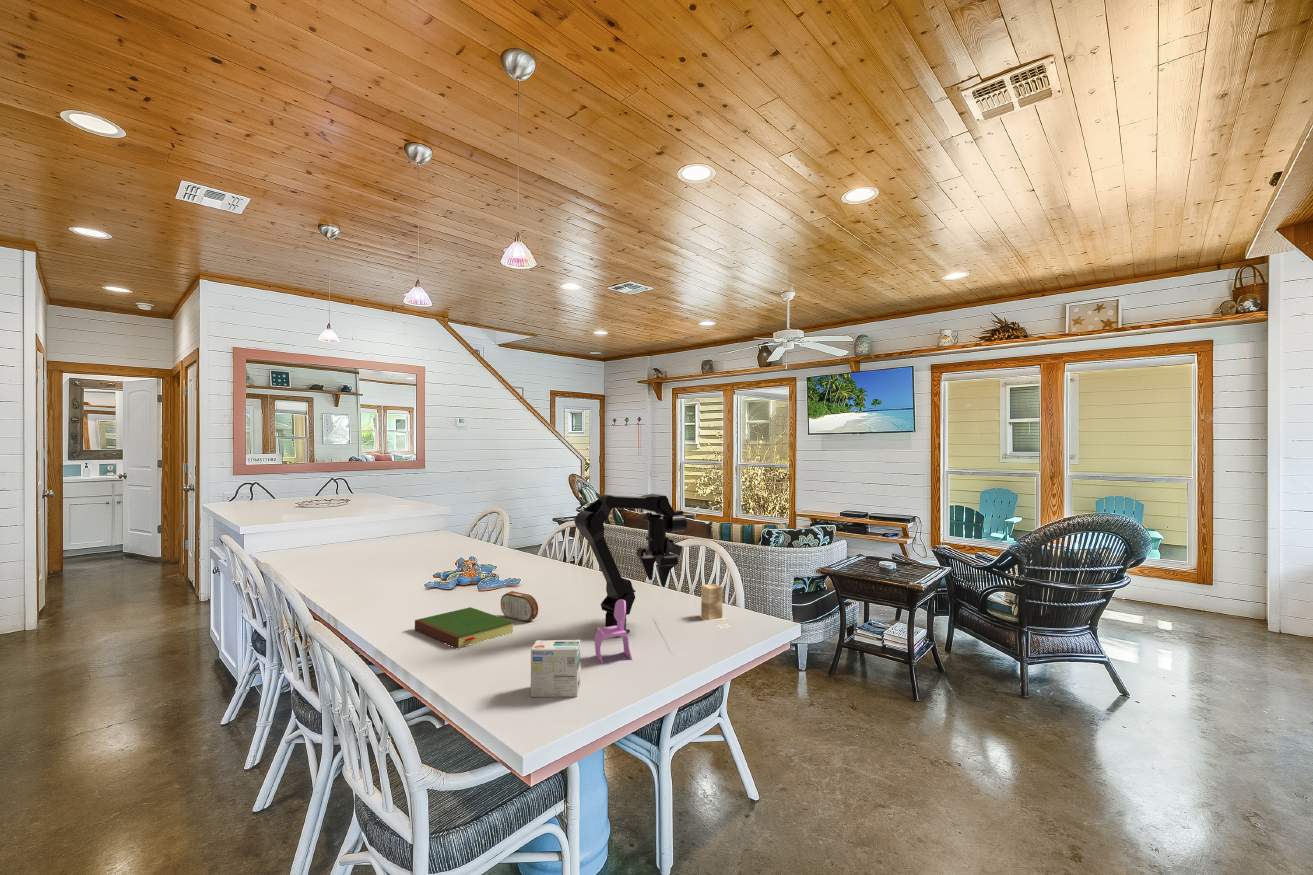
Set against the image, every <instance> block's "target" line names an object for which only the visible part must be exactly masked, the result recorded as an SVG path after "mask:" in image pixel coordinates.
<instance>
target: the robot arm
mask: <svg viewBox="0 0 1313 875" xmlns="http://www.w3.org/2000/svg"><path fill="white" fill-rule="evenodd" d="M614 509H634V510H636V509H639V510H643V511H647V512H646V513H645V515H643V516H642V519H641V520H643V521H647V536H646V535H645V540H646V541H647V546H640V547H638V548H637V549H636V557H638V560H639V561H640V564H641V565H642V568H643V570H644V573H645V575H646V577H647V579H648V580H649V581H652V580H653V578H654V576H653V575H654V567H655V568H656V572H657V575H658V579H659V583H660V586H661V587H665V586H666V584H667V580H668V577H669V575H670V572H671V570H672V569H673V568H675V567H676V566H677V565H679V563H680V562H679V561H680V560H679V557H681V554H682V550H683V548H684V546H682V545H679V544H676V543H675V542H674V540H673V539H671V538H669V537H668V536H667V533H678V532H684V531H686V530H687V527H688V521H687V518H686V516H685V514H684V511H683V510H680V509H679V510H674V509H673V507H672V505H671V504H670V501H669V498H668V496H667V495H665V494H659V493H658V494H657V493H648V494H644V495H641V496H632V495H631V496H629V495H628V496H627V495H612V494H602V495H600V496H599V497H598V498H597V499H596V500H595V501H593V502H592V503H590V504H589V505H588V506H586V507H585V508H584V510H582V511H579V512H578V513H577V514H576V515H575V519H574V525H575V527H576V528H577V530H578V532H579V533H580V534H581V536H583V537H584V538H585V539H586V541H587V542H588V543H589V545H590V549H591V550H592V552H593V554H594V556H595V560H596V562H597V563H598V566H599V568H600V570H601V572H602V575H603V577H604V579H605V582H606V586H605V590H606V596H605V597H604V599H603V600H602V602H601V603H600V607H601V610H602V611H605V626H604V627H611V626H617V620H616V619H615V617H614V610H615V603H616V602H617V601H618V600H620V599H622V600H625V601H626V615H625V622H624V630H625V631H626V632H627V634H628V633H630V632H631V630H630V629H629V628H628V629H627V616H628V615H630V614H631V610H632V607H633V604H634V603H635V600H636V595H635V594H636V592H637V591H636V590H635V588H634V586H633V583H632V581H631V579H627V578H624V577H622V576H621V574H620V573H621V572H620V571H619V569H618V566H617V563H616V562H615V559H614V556H613V554H612V551H611V550H610V548H609V545H608V543H607V541H606V538H605V526H604V525H605V524H604V523H605V521H607V519H608V518H609V516H610V513H611V512H612V510H614ZM652 512H653V513H654V514H653V513H652ZM678 556H679V557H678ZM620 637H621V636H616V638H620Z"/></svg>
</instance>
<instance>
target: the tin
mask: <svg viewBox="0 0 1313 875" xmlns="http://www.w3.org/2000/svg"><path fill="white" fill-rule="evenodd" d="M500 610H501V612H502V614H503V615H504V616H505V617H506V618H509V619H511V620H517V621H520V622H524V623H526V622H530V621H533V620H535V619H536V618H537V617H538V614H539V604H538V602H537V600H536V598H535V597H534V596H532V595H531V594H527V593H523V592H518V591H515V590H510V591H508V592H506V593H504V594H503V595H502V596H501V598H500Z"/></svg>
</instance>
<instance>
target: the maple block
mask: <svg viewBox="0 0 1313 875" xmlns="http://www.w3.org/2000/svg"><path fill="white" fill-rule="evenodd" d="M700 589H701V590H700V592H701V594H700V596H701V597H700V598H701V599H700V600H701V602H700V606H701V608H700V610H701V613H700V614H701V616H703V617H705V618H707V619H709V620H711V619H718V618H722V616H723V586H721V585H718V584H716V583H710V584H701V588H700Z"/></svg>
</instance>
